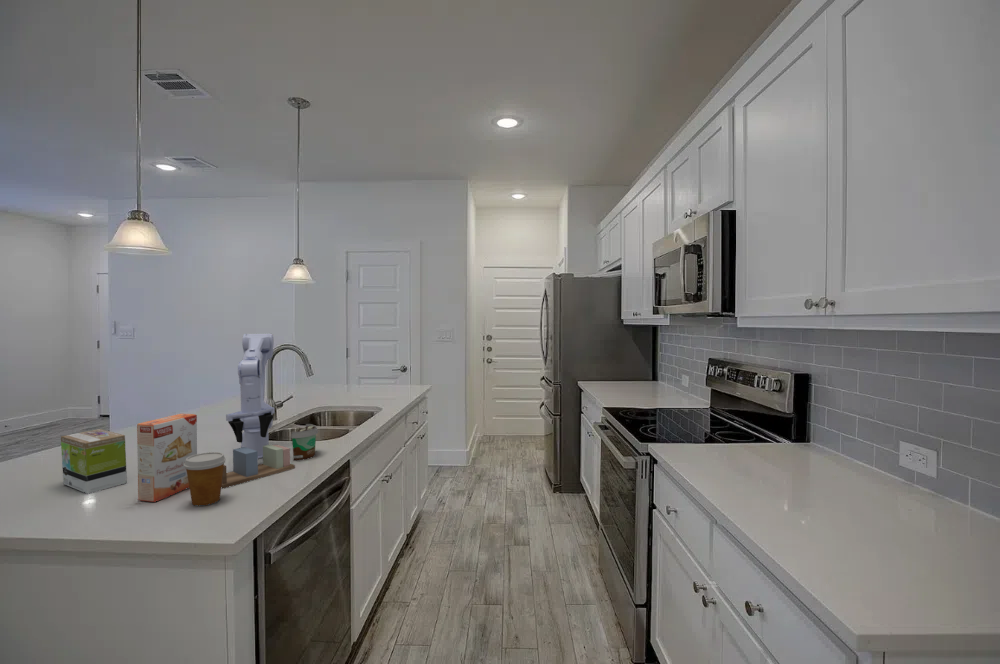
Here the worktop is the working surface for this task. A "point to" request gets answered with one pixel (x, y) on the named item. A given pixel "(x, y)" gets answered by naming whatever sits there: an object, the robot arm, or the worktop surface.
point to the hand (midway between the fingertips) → (251, 439)
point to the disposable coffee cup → (205, 477)
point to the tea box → (93, 460)
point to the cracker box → (164, 455)
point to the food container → (304, 442)
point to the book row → (276, 456)
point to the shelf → (263, 471)
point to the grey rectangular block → (245, 461)
